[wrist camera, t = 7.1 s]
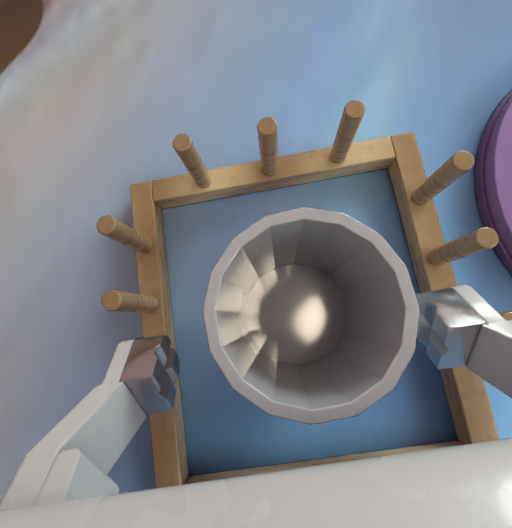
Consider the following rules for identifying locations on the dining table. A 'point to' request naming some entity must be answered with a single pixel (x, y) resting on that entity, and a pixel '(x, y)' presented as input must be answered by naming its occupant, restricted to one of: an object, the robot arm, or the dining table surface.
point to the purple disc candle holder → (497, 178)
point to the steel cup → (311, 315)
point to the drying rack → (281, 175)
